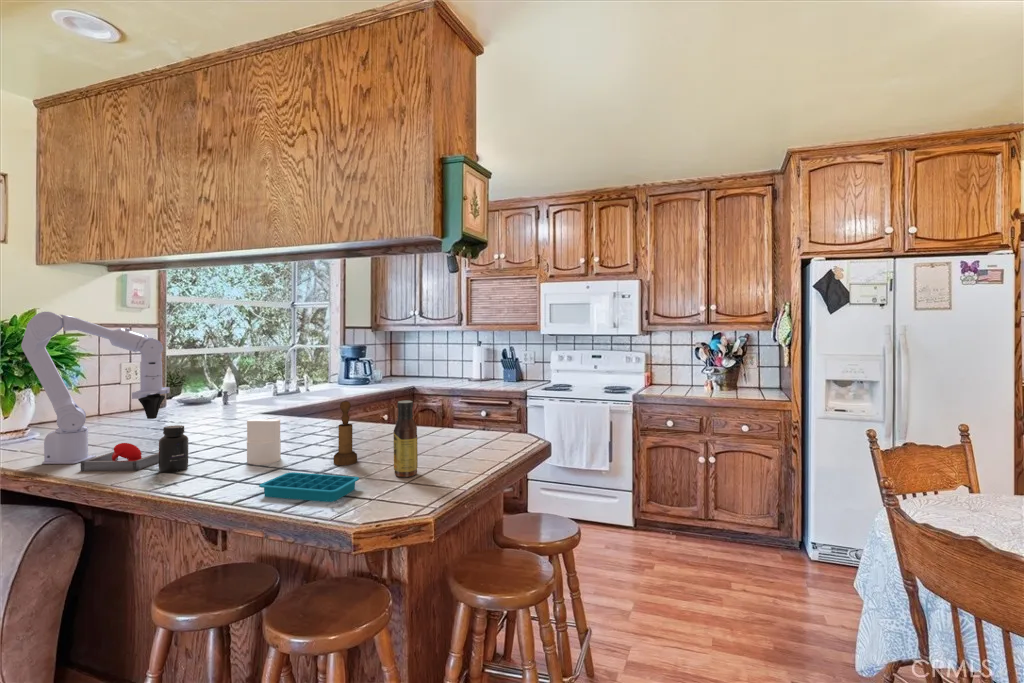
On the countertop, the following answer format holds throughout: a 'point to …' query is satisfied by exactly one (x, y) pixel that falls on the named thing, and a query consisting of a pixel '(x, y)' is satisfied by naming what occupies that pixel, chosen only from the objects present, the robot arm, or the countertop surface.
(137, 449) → the red curved piece
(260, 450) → the cream upright block
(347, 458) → the brown wooden pepper mill
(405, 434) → the sauce bottle
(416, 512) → the countertop surface
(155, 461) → the tray
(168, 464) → the supplement bottle
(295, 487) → the ice cube tray
